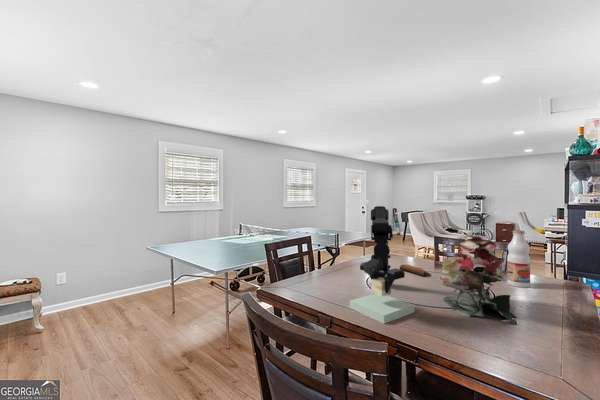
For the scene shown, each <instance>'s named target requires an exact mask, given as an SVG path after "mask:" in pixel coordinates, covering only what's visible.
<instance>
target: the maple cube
mask: <svg viewBox="0 0 600 400" xmlns="http://www.w3.org/2000/svg"><path fill="white" fill-rule="evenodd" d="M370 280H371V281H370V285H371V286H370V291H371V292H370V293H371V294H376V295H379V296H381V297H382V296H386V295H388V296H390V295H391V294H392V287H391V288H390V290H389V292H388V293H386V292H385V280H384V278H381V277H379V278H375V279H371V278H370Z"/></svg>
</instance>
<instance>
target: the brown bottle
mask: <svg viewBox="0 0 600 400" xmlns="http://www.w3.org/2000/svg"><path fill="white" fill-rule="evenodd" d="M399 269H400V270H403V271H404V272H409V273H412V274H415V275H420V276H422V277H424V278H426V277H430V276H432V273H430V272H429V271H428V272H427V271H425V270H424V269H423V268H422V267H418V266H417V267H416V266H414V265H410V264H401V265H400V266H399Z"/></svg>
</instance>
